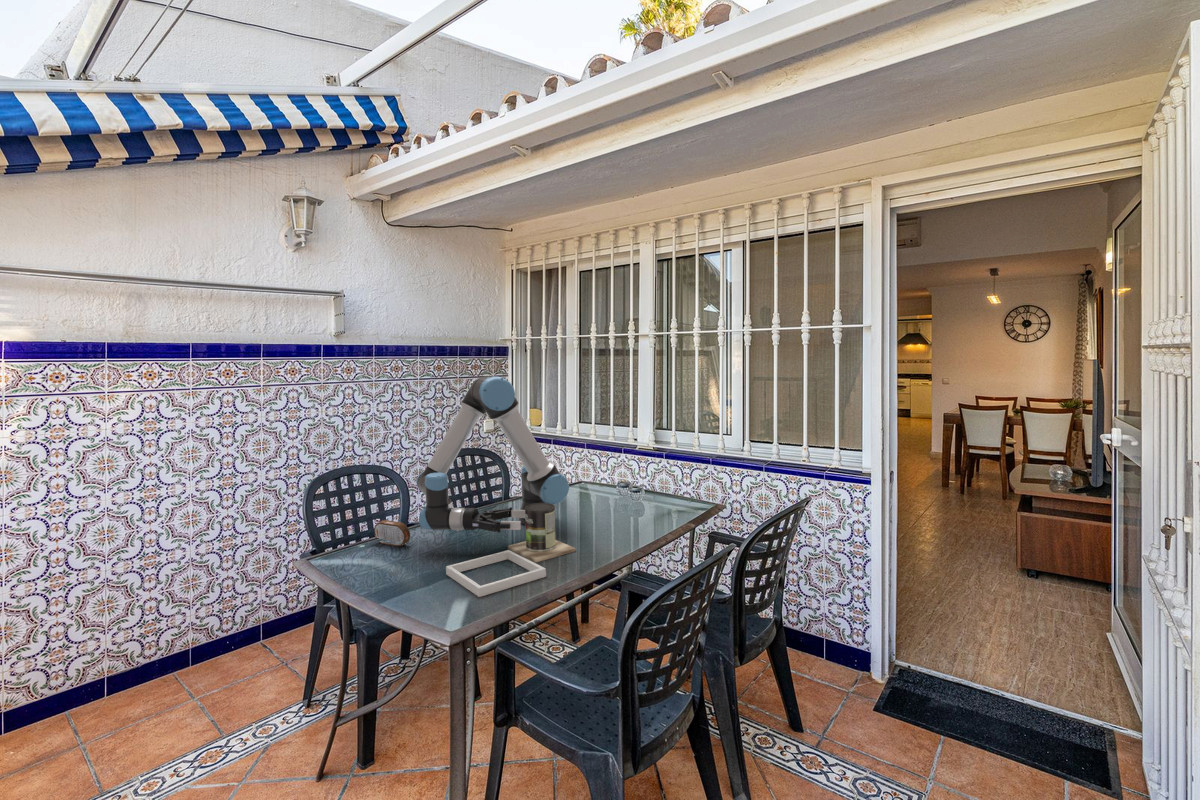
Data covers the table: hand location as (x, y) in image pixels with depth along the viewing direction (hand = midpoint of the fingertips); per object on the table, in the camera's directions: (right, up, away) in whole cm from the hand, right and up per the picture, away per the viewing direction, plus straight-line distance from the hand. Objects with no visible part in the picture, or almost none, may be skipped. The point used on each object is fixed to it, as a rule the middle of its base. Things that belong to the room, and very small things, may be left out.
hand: (525, 519), depth 193 cm
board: (+5, -11, +1) cm, 12 cm away
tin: (-49, -11, +9) cm, 51 cm away
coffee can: (+5, -10, 0) cm, 11 cm away
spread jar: (-39, -9, +37) cm, 54 cm away
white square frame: (-6, -12, -22) cm, 26 cm away
